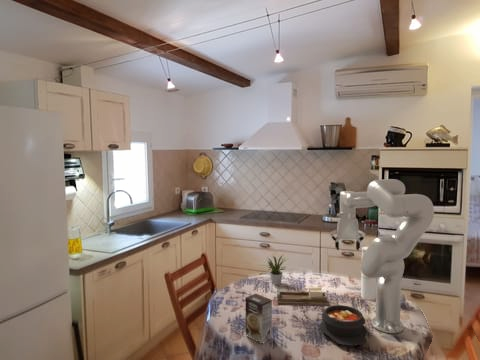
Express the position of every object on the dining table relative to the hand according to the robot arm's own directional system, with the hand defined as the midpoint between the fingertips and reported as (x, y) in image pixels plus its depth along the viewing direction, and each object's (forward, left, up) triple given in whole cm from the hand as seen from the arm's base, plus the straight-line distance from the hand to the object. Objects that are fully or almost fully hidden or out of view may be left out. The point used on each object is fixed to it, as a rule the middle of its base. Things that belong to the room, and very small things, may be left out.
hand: (347, 249), depth 175 cm
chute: (-5, +23, -25) cm, 34 cm away
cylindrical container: (0, -11, -25) cm, 27 cm away
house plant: (+16, +34, -25) cm, 45 cm away
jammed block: (-5, +16, -24) cm, 29 cm away
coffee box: (-41, +43, -25) cm, 64 cm away
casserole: (-35, +9, -25) cm, 44 cm away
